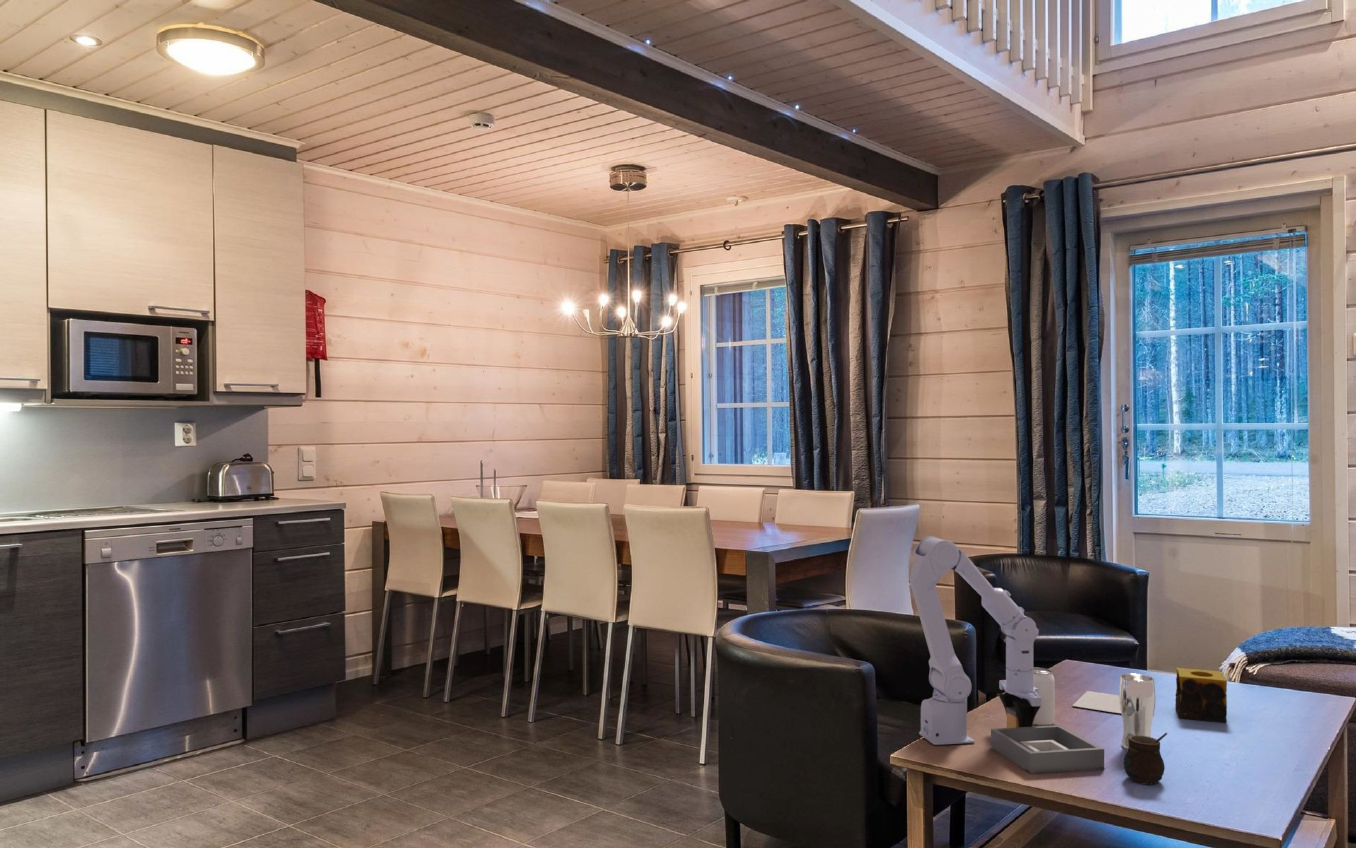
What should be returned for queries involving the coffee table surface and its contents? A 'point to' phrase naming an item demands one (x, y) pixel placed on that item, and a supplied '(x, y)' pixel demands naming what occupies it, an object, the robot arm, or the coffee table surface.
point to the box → (1047, 749)
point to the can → (1044, 696)
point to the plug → (1012, 717)
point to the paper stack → (1099, 702)
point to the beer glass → (1136, 705)
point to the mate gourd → (1144, 759)
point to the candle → (1201, 695)
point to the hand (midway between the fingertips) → (1019, 730)
